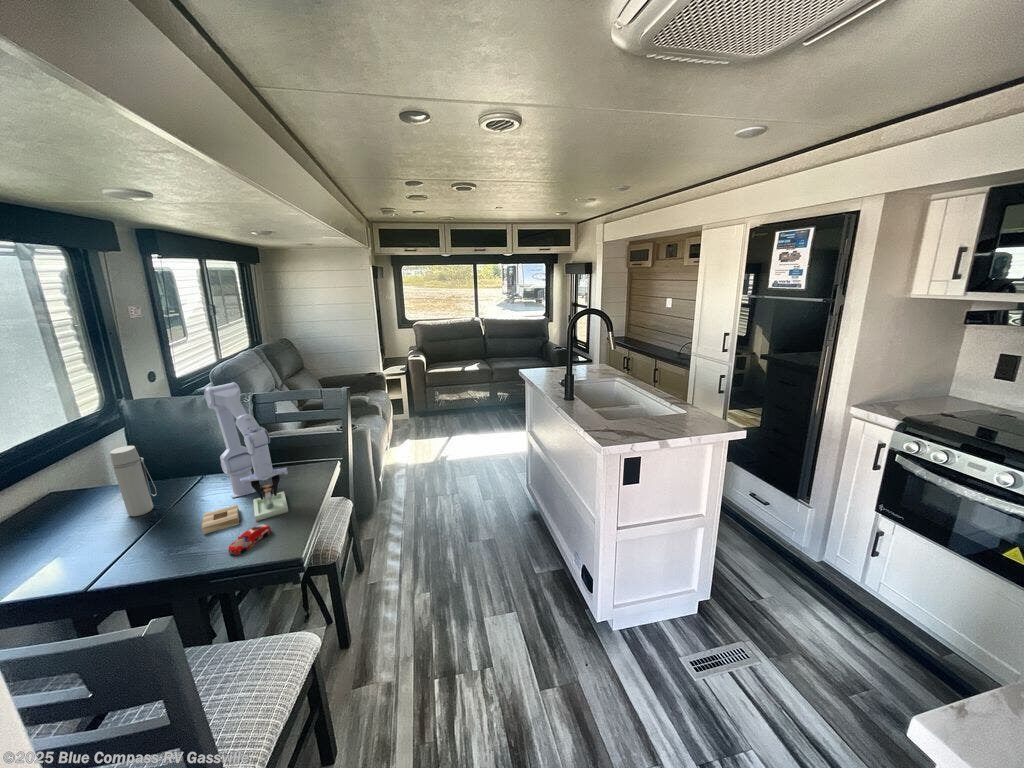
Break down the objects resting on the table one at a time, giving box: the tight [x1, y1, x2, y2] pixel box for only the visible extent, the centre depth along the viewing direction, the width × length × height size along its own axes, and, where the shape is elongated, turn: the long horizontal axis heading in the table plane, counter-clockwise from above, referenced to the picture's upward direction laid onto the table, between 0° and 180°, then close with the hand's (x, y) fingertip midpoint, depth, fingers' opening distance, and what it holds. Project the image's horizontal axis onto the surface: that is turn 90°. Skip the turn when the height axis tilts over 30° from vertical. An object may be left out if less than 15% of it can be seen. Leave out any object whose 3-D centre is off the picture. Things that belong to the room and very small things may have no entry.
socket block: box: [201, 504, 240, 535], centre depth 142 cm, size 10×10×2 cm
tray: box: [252, 490, 289, 522], centre depth 150 cm, size 13×10×2 cm
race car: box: [227, 523, 272, 556], centre depth 131 cm, size 13×5×4 cm, turn 159°
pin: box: [260, 484, 274, 509], centre depth 149 cm, size 4×4×8 cm
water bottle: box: [109, 445, 157, 517], centre depth 146 cm, size 9×8×25 cm
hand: (268, 496), depth 149 cm, fingers closed on pin, 3 cm apart
